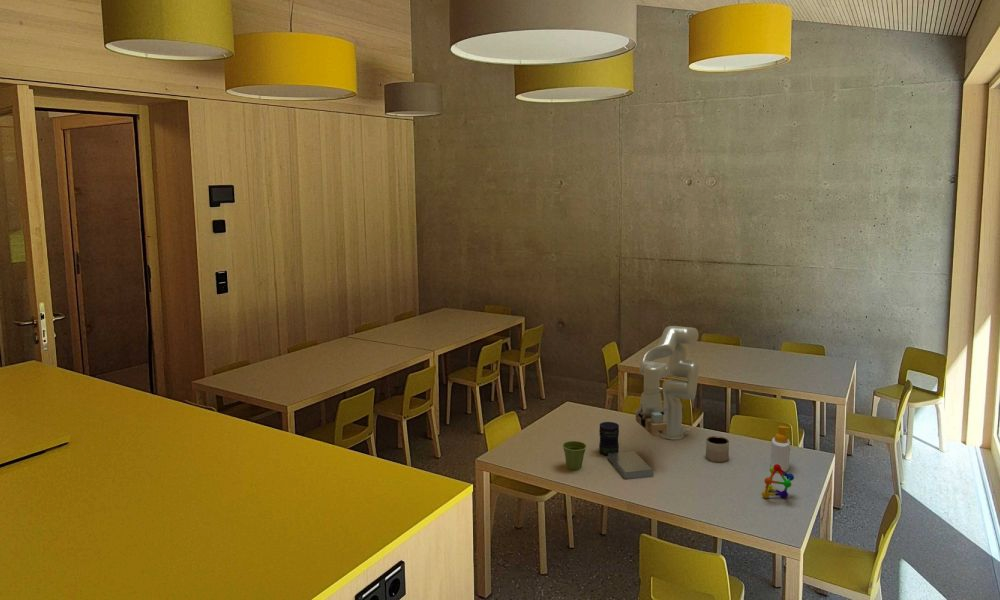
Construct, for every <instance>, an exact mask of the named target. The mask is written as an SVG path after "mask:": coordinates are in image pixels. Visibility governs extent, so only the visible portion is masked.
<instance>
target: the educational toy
mask: <svg viewBox="0 0 1000 600" xmlns="http://www.w3.org/2000/svg"><path fill="white" fill-rule="evenodd" d="M769 472H770V476H769V477H765V478H764V480H763V482H764V484H766V485H765V486H764V487H765V490H763V491H762V492H761V496H762V497H763V499H768V498H769V497H770V496H775V497H776V496H780V497H781V498H783V499H787V498H788V497H789V493H788V489H789V488H791V487H792V481H793V480H794V479H795V475H794V474H792V473H788V472H787V471H785V472H784V471H783V470H782V469H781V466H780V465H779V464H775V465H774V467H771V466H770V468H769ZM775 474H779V475H780V476H781V479H782V480H783V481H780V480H779V481H778V480H773V477H774V476H775ZM772 484H776V485H777V484H778V485H783V486H784V489H783V490H778V489H777V488H774V487H773V485H772ZM771 491H774V493H773V492H771Z"/></svg>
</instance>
